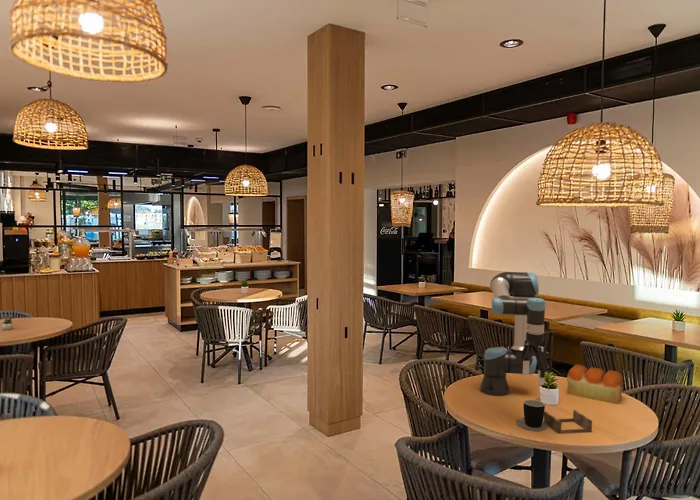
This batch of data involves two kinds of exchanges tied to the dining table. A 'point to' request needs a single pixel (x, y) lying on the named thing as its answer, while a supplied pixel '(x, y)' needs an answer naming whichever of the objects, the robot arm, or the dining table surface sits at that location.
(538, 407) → the mug
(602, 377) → the bread
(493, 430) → the dining table surface
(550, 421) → the frame
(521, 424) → the coaster
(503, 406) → the dining table surface
